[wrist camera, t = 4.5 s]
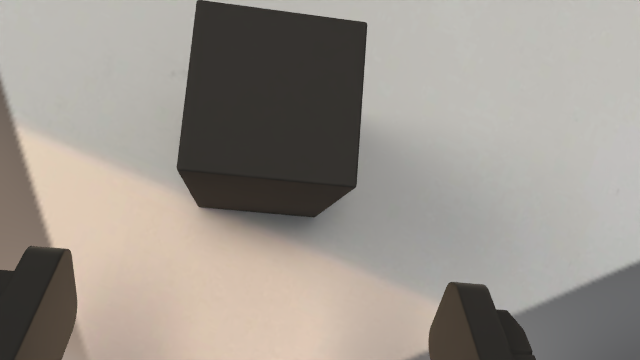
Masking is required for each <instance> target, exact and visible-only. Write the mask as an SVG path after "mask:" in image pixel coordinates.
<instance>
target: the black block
mask: <svg viewBox="0 0 640 360" xmlns="http://www.w3.org/2000/svg"><path fill="white" fill-rule="evenodd" d="M366 35H367V23H365V22H359V21H352V20H344V19H337V18H329V17H322V16H314V15H307V14H300V13H292V12H285V11H277V10H270V9H262V8H255V7H248V6H240V5H233V4H225V3H218V2H210V1H203V0H198V1H197V4H196V12H195V20H194V28H193V37H192V45H191V53H190V62H189V70H188V78H187V87H186V95H185V103H184V112H183V120H182V128H181V137H180V145H179V153H178V162H177V170H178V172H179V174H180V175H181V177H182V179H183V181H184V182H185V184H186V186H187V188H188V189H189V191H190V193H191V195H192V196H193V198H194V200H195V201H196V203H197V205H198V206H199V207H207V208H218V209H229V210H240V211H251V212H262V213H273V214H284V215H295V216H306V217H316V216H317V215H318V214H320V213H321V212H322V211H324V210H325V209H327V208H328V207H329V206H331V205H332V204H333V203H335V202H336V201H338V200H339V199H340V198H342V197H343V196H344V195H346V194H347V193H349V192H350V191H351V190H353V189H354V188H355V187H356V184H357V169H358V154H359V139H360V124H361V109H362V94H363V80H364V65H365V50H366Z"/></svg>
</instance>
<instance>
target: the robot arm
mask: <svg viewBox="0 0 640 360" xmlns="http://www.w3.org/2000/svg"><path fill="white" fill-rule="evenodd" d="M76 313H77V294H76V286H75V278H74V270H73V262H72V255H71V251H70V250H69V249H61V248H49V247H37V246H30V247H28V248H27V249H26V251H25V252H24V254H23V256H22V258H21V260H20V261H19V263H18V265H17V267H16V269H15V271H7V270H0V360H61V359H62V357H63V354H64V352H65V349H66V346H67V344H68V341H69V339H70V336H71V333H72V331H73V327H74V324H75V319H76ZM429 354H430V359H431V360H536V359H535V356H534V355H532V349H531V346H530V344H529V342H528V339H527V337H526V334H525V332H524V330H523V328H522V327H521V326H520V325H519V324H518V323H517V321H516V320H515V319H514V318H513V317H512V316H511V314H510V313H509V312H508V311H507V310H496V309H495V306H494V303H493V301H492V298H491V295H490V293H489V290H488V288H487V287H486V286H485V285H482V284H470V283H458V282H450V283H449V284H448V285H447V287H446V290H445V292H444V295H443V297H442V300H441V302H440V305H439V307H438V310H437V312H436V315H435V317H434V320H433V322H432V325H431V328H430V333H429Z"/></svg>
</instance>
